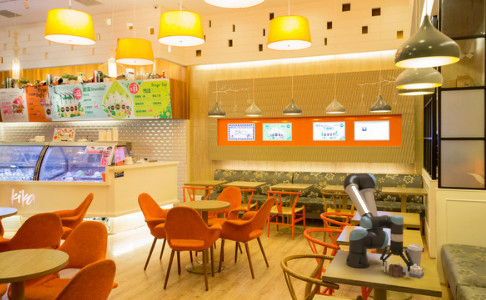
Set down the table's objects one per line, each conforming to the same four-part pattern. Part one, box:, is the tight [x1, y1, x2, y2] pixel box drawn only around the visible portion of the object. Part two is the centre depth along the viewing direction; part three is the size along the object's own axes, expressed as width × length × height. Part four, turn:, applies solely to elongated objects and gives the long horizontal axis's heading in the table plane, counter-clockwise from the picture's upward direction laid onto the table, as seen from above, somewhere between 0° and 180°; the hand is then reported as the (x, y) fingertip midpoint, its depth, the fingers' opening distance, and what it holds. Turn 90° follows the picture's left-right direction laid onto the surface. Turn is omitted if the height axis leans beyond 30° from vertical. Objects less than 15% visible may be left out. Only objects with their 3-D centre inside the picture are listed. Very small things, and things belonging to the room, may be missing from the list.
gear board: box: [397, 261, 425, 279], centre depth 252 cm, size 18×9×7 cm, turn 49°
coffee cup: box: [406, 243, 423, 268], centre depth 263 cm, size 10×10×15 cm
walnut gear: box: [388, 263, 404, 278], centre depth 248 cm, size 8×8×6 cm
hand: (396, 274), depth 247 cm, fingers open, 13 cm apart
